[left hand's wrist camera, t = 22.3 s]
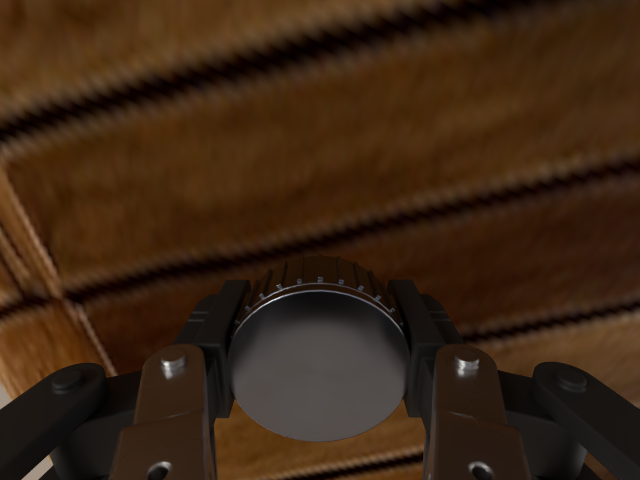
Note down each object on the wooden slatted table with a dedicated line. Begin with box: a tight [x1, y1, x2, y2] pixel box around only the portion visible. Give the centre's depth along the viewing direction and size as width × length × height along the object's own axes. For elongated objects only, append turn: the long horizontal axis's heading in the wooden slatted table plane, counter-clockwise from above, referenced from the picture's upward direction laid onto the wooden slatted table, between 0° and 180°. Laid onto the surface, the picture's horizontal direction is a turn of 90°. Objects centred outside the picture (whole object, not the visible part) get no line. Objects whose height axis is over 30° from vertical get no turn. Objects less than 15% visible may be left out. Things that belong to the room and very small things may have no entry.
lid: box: [227, 254, 411, 442], centre depth 10 cm, size 5×5×2 cm
